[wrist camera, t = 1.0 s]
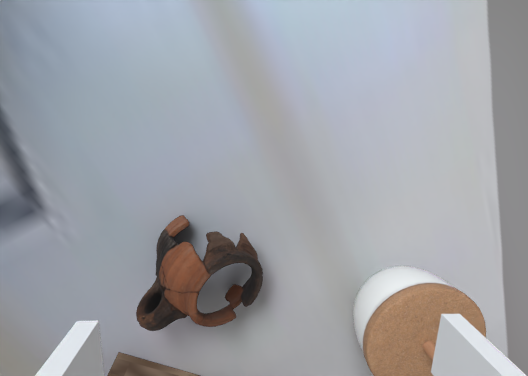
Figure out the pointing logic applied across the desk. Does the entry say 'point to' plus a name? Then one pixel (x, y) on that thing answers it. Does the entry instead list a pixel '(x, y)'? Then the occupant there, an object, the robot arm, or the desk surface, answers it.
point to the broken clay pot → (195, 279)
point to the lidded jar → (406, 319)
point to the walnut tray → (142, 368)
